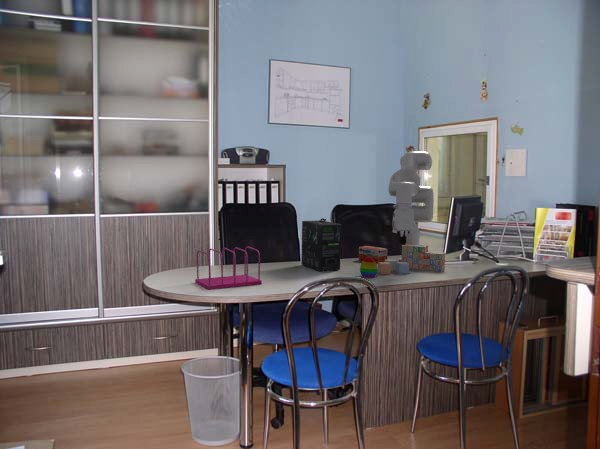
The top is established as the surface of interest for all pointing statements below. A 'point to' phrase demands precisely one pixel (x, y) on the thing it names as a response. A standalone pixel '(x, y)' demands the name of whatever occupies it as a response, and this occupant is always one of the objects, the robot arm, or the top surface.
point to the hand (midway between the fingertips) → (402, 244)
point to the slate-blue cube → (402, 267)
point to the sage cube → (392, 263)
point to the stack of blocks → (423, 258)
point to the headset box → (321, 245)
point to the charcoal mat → (389, 274)
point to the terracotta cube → (384, 268)
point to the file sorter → (229, 280)
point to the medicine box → (373, 253)
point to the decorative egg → (368, 268)
